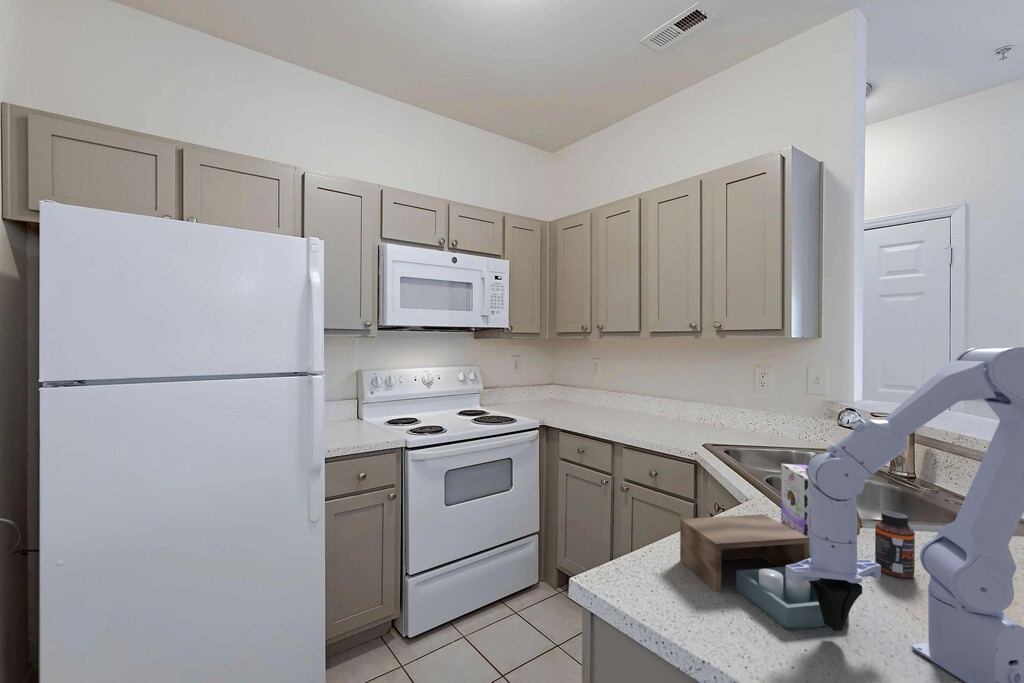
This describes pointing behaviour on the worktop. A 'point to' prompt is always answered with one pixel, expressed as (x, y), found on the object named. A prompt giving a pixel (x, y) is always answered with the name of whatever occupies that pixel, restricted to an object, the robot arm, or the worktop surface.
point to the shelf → (737, 543)
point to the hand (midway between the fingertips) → (833, 627)
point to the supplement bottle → (895, 545)
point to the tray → (777, 605)
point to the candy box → (796, 499)
